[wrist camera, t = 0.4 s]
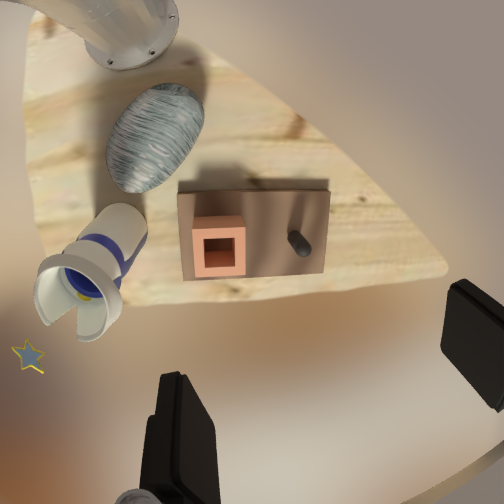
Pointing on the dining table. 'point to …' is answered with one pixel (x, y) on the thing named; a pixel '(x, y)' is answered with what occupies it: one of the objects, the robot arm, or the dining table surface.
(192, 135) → the grey streaked oval part
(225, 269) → the orange hollow square block
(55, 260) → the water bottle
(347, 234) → the dining table surface
